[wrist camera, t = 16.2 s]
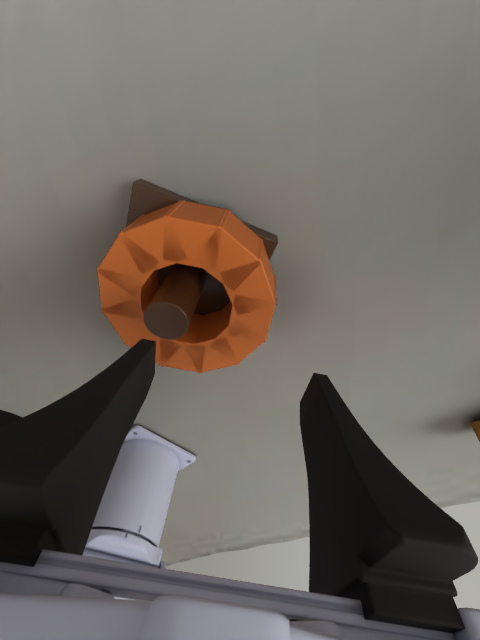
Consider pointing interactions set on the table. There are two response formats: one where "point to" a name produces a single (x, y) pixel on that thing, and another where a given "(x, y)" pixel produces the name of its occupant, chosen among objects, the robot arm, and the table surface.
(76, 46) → the table surface
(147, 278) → the ring
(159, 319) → the stand
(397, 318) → the table surface
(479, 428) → the kendama
